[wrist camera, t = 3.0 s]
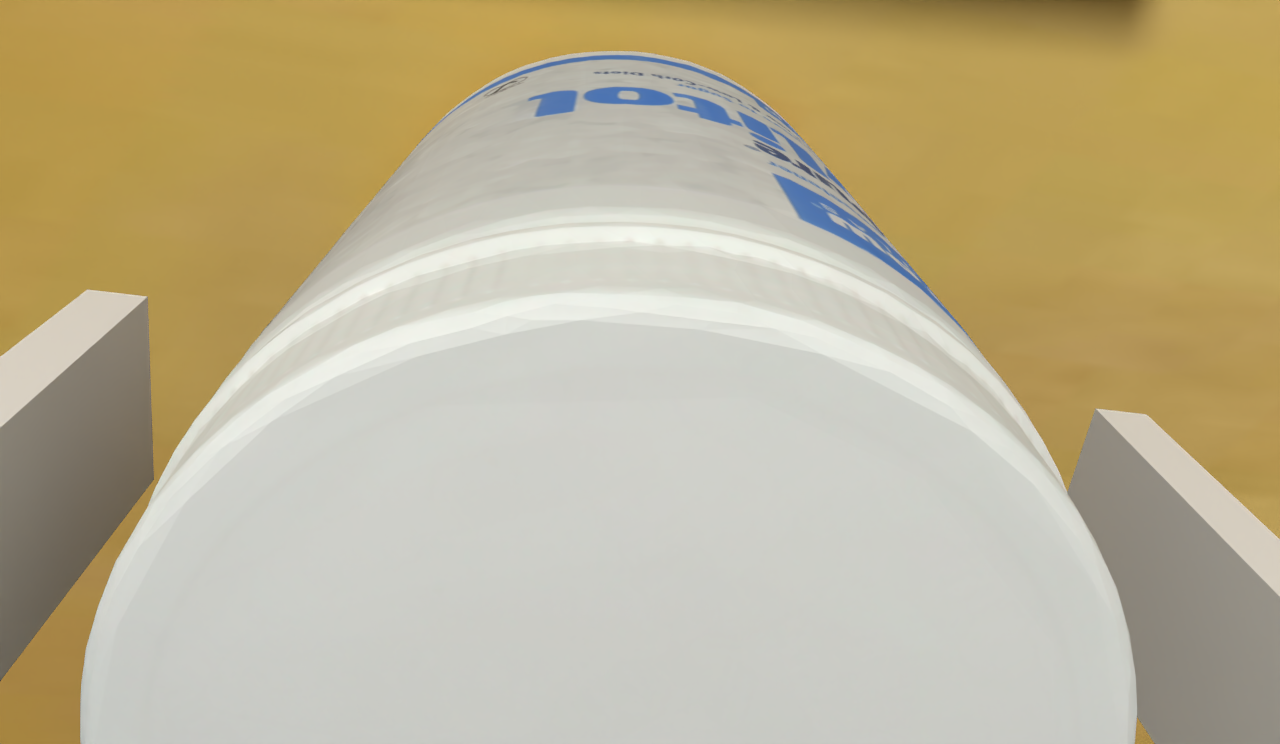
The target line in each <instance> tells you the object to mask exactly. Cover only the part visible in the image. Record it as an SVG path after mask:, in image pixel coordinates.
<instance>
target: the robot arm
mask: <svg viewBox="0 0 1280 744" xmlns="http://www.w3.org/2000/svg"><path fill="white" fill-rule="evenodd" d="M153 480H154V471H153V441H152V411H151V382H150V352H149V323H148V297H146V296H138V295H129V294H121V293H112V292H104V291H95V290H86V291H85V292H84V293H82V294H81V295H80V296H79V297H77V298H76V299H75V300H73V301H72V302H71V303H69V304H68V305H67V306H66V307H64V308H63V309H62V310H60V311H59V312H58V313H56V314H55V315H54V316H53V317H51V318H50V319H49V320H47V321H46V322H45V323H44V324H42V325H41V326H40V327H38V328H37V329H36V330H34V331H33V332H32V333H31V334H29V335H28V336H27V337H25V338H24V339H23V340H21V341H20V342H19V343H18V344H16V345H15V346H14V347H12V348H11V349H10V350H8V351H7V352H6V353H5V354H3V355H2V356H1V357H0V681H1V679H2V678H3V677H4V676H5V674H6V673H7V672H8V670H9V669H10V668H11V666H12V665H13V664H14V662H15V661H16V660H17V658H18V657H19V656H20V655H21V653H22V652H23V651H24V649H25V648H26V647H27V645H28V644H29V643H30V641H31V640H32V639H33V637H34V636H35V635H36V633H37V632H38V631H39V630H40V628H41V627H42V626H43V624H44V623H45V622H46V620H47V619H48V618H49V616H50V615H51V614H52V612H53V611H54V610H55V609H56V607H57V606H58V605H59V603H60V602H61V601H62V599H63V598H64V597H65V595H66V594H67V593H68V591H69V590H70V589H71V587H72V586H73V585H74V584H75V582H76V581H77V580H78V578H79V577H80V576H81V574H82V573H83V572H84V570H85V569H86V568H87V566H88V565H89V564H90V563H91V561H92V560H93V559H94V557H95V556H96V555H97V553H98V552H99V551H100V549H101V548H102V547H103V545H104V544H105V543H106V541H107V540H108V539H109V538H110V536H111V535H112V534H113V532H114V531H115V530H116V528H117V527H118V526H119V524H120V523H121V522H122V520H123V519H124V518H125V517H126V515H127V514H128V513H129V511H130V510H131V509H132V507H133V506H134V505H135V503H136V502H137V501H138V499H139V498H140V497H141V495H142V494H143V493H144V492H145V490H146V489H147V488H148V486H149V485H150V484H151V482H152V481H153ZM1067 494H1068V495H1069V497H1070V499H1071V500H1072V502H1073V503H1074V505H1075V506H1076V508H1077V510H1078V511H1079V513H1080V515H1081V517H1082V518H1083V520H1084V522H1085V524H1086V525H1087V527H1088V529H1089V531H1090V532H1091V534H1092V536H1093V538H1094V539H1095V541H1096V543H1097V546H1098V548H1099V550H1100V552H1101V554H1102V557H1103V559H1104V561H1105V563H1106V565H1107V568H1108V570H1109V572H1110V574H1111V576H1112V579H1113V581H1114V583H1115V585H1116V587H1117V590H1118V594H1119V597H1120V601H1121V605H1122V608H1123V612H1124V616H1125V619H1126V623H1127V627H1128V630H1129V634H1130V641H1131V648H1132V655H1133V662H1134V668H1135V675H1136V694H1137V717H1138V719H1139V720H1140V722H1141V723H1142V725H1143V726H1144V728H1145V729H1146V731H1147V732H1148V734H1149V736H1150V737H1151V739H1152V740H1153V742H1154V743H1155V744H1280V539H1279V538H1278V537H1276V536H1275V535H1274V534H1273V533H1272V532H1271V531H1270V530H1269V529H1268V528H1267V527H1266V526H1265V525H1264V524H1263V523H1262V522H1260V521H1259V520H1258V519H1257V518H1256V517H1255V516H1254V515H1253V514H1252V513H1251V512H1250V511H1249V510H1248V509H1247V508H1246V507H1245V506H1243V505H1242V504H1241V503H1240V502H1239V501H1238V500H1237V499H1236V498H1235V497H1234V496H1233V495H1232V494H1231V493H1230V492H1229V491H1227V490H1226V489H1225V488H1224V487H1223V486H1222V485H1221V484H1220V483H1219V482H1218V481H1217V480H1216V479H1215V478H1214V477H1213V476H1211V475H1210V474H1209V473H1208V472H1207V471H1206V470H1205V469H1204V468H1203V467H1202V466H1201V465H1200V464H1199V463H1198V462H1197V461H1195V460H1194V459H1193V458H1192V457H1191V456H1190V455H1189V454H1188V453H1187V452H1186V451H1185V450H1184V449H1183V448H1182V447H1181V446H1180V445H1178V444H1177V443H1176V442H1175V441H1174V440H1173V439H1172V438H1171V437H1170V436H1169V435H1168V434H1167V433H1166V432H1165V431H1164V430H1162V429H1161V428H1160V427H1159V426H1158V425H1157V424H1156V423H1155V422H1154V421H1153V420H1152V419H1151V418H1150V417H1149V416H1148V415H1146V414H1137V413H1129V412H1121V411H1112V410H1104V409H1095V412H1094V415H1093V418H1092V421H1091V424H1090V427H1089V430H1088V433H1087V436H1086V439H1085V442H1084V445H1083V448H1082V451H1081V454H1080V457H1079V460H1078V463H1077V466H1076V469H1075V472H1074V475H1073V477H1072V480H1071V483H1070V486H1069V489H1068V492H1067Z"/></svg>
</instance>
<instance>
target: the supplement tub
mask: <svg viewBox="0 0 1280 744" xmlns="http://www.w3.org/2000/svg"><path fill="white" fill-rule="evenodd" d="M1136 721H1137V694H1136V675H1135V668H1134V662H1133V655H1132V648H1131V641H1130V634H1129V630H1128V627H1127V623H1126V619H1125V616H1124V612H1123V608H1122V605H1121V601H1120V597H1119V594H1118V590H1117V587H1116V585H1115V583H1114V581H1113V579H1112V576H1111V574H1110V572H1109V570H1108V568H1107V565H1106V563H1105V561H1104V559H1103V557H1102V554H1101V552H1100V550H1099V548H1098V546H1097V543H1096V541H1095V539H1094V538H1093V536H1092V534H1091V532H1090V531H1089V529H1088V527H1087V525H1086V524H1085V522H1084V520H1083V518H1082V517H1081V515H1080V513H1079V511H1078V510H1077V508H1076V506H1075V505H1074V503H1073V502H1072V500H1071V499H1070V497H1069V495H1068V494H1067V491H1066V489H1065V486H1064V483H1063V481H1062V478H1061V476H1060V473H1059V471H1058V469H1057V467H1056V465H1055V463H1054V461H1053V459H1052V458H1051V456H1050V454H1049V452H1048V450H1047V448H1046V446H1045V444H1044V442H1043V440H1042V439H1041V437H1040V436H1039V434H1038V432H1037V431H1036V429H1035V427H1034V426H1033V424H1032V423H1031V421H1030V419H1029V417H1028V416H1027V414H1026V412H1025V411H1024V409H1023V408H1022V407H1021V405H1020V404H1019V402H1018V401H1017V399H1016V398H1015V397H1014V395H1013V394H1012V392H1011V391H1010V389H1009V388H1008V387H1007V385H1006V384H1005V382H1004V381H1003V380H1002V379H1001V377H1000V376H999V375H998V374H997V372H996V371H995V370H994V369H993V367H992V366H991V365H990V364H989V363H988V361H987V360H986V359H985V358H984V356H983V355H982V354H981V352H980V351H979V350H978V348H977V347H976V345H975V344H974V343H973V341H972V340H971V339H970V337H969V336H968V335H967V333H966V332H965V331H964V330H963V328H962V327H961V326H960V325H959V324H958V322H957V321H956V320H955V319H954V318H953V316H952V315H951V314H950V313H949V312H948V310H947V309H946V308H945V307H944V306H943V304H942V303H941V302H940V301H939V300H938V298H937V297H936V296H935V295H934V294H933V292H932V291H931V290H930V289H929V288H928V286H927V285H926V284H925V283H924V282H923V281H922V279H921V278H920V277H919V276H918V275H917V273H916V272H915V271H914V270H913V269H912V267H911V266H910V265H909V264H908V263H907V262H906V260H905V259H904V258H903V257H902V256H901V254H900V253H899V252H898V251H897V250H896V249H895V247H894V246H893V245H892V244H891V243H890V241H889V240H888V239H887V238H886V237H885V235H884V234H883V233H882V232H881V231H880V229H879V228H878V227H877V226H876V225H875V223H874V222H873V221H872V220H871V219H870V217H869V216H868V215H867V214H866V213H865V211H864V210H863V209H862V208H861V207H860V206H859V204H858V203H857V202H856V201H855V200H854V198H853V197H852V196H851V195H850V194H849V193H848V191H847V190H846V189H845V188H844V187H843V185H842V184H841V183H840V182H839V181H838V180H837V178H836V177H835V176H834V175H833V174H832V173H831V171H830V170H829V169H828V168H827V167H826V166H825V164H824V163H823V162H822V161H821V160H820V158H819V157H818V156H817V155H816V154H815V153H814V152H813V150H812V149H811V148H810V147H809V146H808V145H807V144H806V143H805V141H804V140H803V139H802V138H801V137H800V136H799V135H798V134H797V133H796V131H795V130H794V129H793V128H792V127H791V126H790V125H789V124H788V123H787V122H786V121H785V120H784V119H783V118H782V117H781V116H780V115H779V114H778V113H777V112H776V111H775V110H774V109H772V108H771V107H770V106H769V105H768V104H766V103H765V102H764V101H762V100H761V99H759V98H758V97H757V96H755V95H754V94H753V93H751V92H750V91H748V90H747V89H745V88H744V87H742V86H741V85H739V84H737V83H736V82H734V81H733V80H731V79H729V78H728V77H726V76H724V75H722V74H720V73H717V72H715V71H713V70H710V69H708V68H705V67H702V66H700V65H697V64H695V63H692V62H689V61H685V60H681V59H677V58H672V57H667V56H662V55H657V54H652V53H644V52H635V51H601V52H585V53H576V54H568V55H563V56H558V57H553V58H549V59H546V60H542V61H539V62H535V63H532V64H528V65H525V66H523V67H520V68H518V69H515V70H513V71H510V72H508V73H506V74H504V75H502V76H500V77H498V78H496V79H494V80H493V81H491V82H490V83H488V84H487V85H485V86H483V87H482V88H480V89H479V90H477V91H476V92H474V93H473V94H471V95H470V96H469V97H467V98H466V99H465V100H463V101H462V102H461V103H459V104H458V105H457V106H456V107H454V108H453V109H452V110H451V111H449V112H448V113H447V114H446V115H445V116H444V117H443V118H442V119H441V120H440V121H439V122H438V123H437V124H436V125H435V126H434V128H433V129H432V130H431V131H430V132H429V133H428V134H427V135H426V136H425V137H424V138H423V139H422V141H421V142H420V143H419V144H418V145H417V147H416V148H415V149H414V150H413V151H412V152H411V154H410V155H409V156H408V157H407V158H406V160H405V161H404V162H403V163H402V164H401V166H400V167H399V168H398V169H397V170H396V171H395V173H394V174H393V175H392V176H391V177H390V179H389V180H388V181H387V182H386V183H385V185H384V186H383V187H382V188H381V189H380V191H379V192H378V193H377V194H376V196H375V197H374V198H373V199H372V200H371V202H370V203H369V204H368V205H367V206H366V208H365V209H364V210H363V211H362V212H361V213H360V215H359V216H358V217H357V218H356V219H355V221H354V222H353V223H352V224H351V225H350V227H349V228H348V229H347V230H346V231H345V233H344V234H343V235H342V236H341V238H340V239H339V240H338V241H337V243H336V244H335V245H334V246H333V247H332V249H331V250H330V251H329V252H328V254H327V255H326V256H325V257H324V258H323V260H322V261H321V262H320V263H319V264H318V266H317V267H316V268H315V269H314V270H313V272H312V273H311V274H310V275H309V276H308V278H307V279H306V280H305V281H304V283H303V284H302V285H301V286H300V287H299V289H298V290H297V291H296V292H295V293H294V295H293V296H292V297H291V298H290V299H289V301H288V302H287V303H286V304H285V306H284V307H283V308H282V309H281V311H280V312H279V313H278V314H277V315H276V316H275V317H274V319H273V320H272V321H271V322H270V323H269V324H268V325H267V327H266V328H265V329H264V330H263V332H262V333H261V334H260V336H259V337H258V338H257V339H256V341H255V342H254V343H253V344H252V345H251V347H250V348H249V349H248V351H247V352H246V354H245V355H244V357H243V358H242V359H241V361H240V362H239V363H238V364H237V366H236V367H235V368H234V369H233V370H232V372H231V373H230V374H229V375H228V377H227V378H226V379H225V381H224V382H223V383H222V385H221V386H220V388H219V389H218V390H217V392H216V393H215V394H214V396H213V397H212V399H211V400H210V401H209V403H208V404H207V405H206V406H205V408H204V409H203V410H202V412H201V413H200V414H199V415H198V417H197V418H196V419H195V420H194V422H193V424H192V425H191V427H190V428H189V430H188V431H187V433H186V434H185V436H184V437H183V439H182V440H181V442H180V443H179V445H178V446H177V448H176V449H175V451H174V453H173V455H172V457H171V459H170V461H169V463H168V465H167V466H166V468H165V470H164V472H163V474H162V476H161V478H160V480H159V482H158V484H157V486H156V488H155V490H154V492H153V495H152V497H151V500H150V502H149V505H148V508H147V509H146V511H145V512H144V514H143V516H142V518H141V519H140V521H139V523H138V524H137V526H136V528H135V529H134V531H133V533H132V535H131V536H130V538H129V540H128V541H127V543H126V545H125V547H124V548H123V550H122V552H121V553H120V555H119V557H118V558H117V560H116V562H115V564H114V567H113V569H112V572H111V575H110V577H109V580H108V582H107V585H106V587H105V590H104V593H103V595H102V598H101V600H100V603H99V606H98V609H97V612H96V616H95V619H94V623H93V626H92V630H91V633H90V637H89V640H88V644H87V647H86V653H85V660H84V668H83V676H82V683H81V703H80V740H81V744H1135V733H1136Z"/></svg>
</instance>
